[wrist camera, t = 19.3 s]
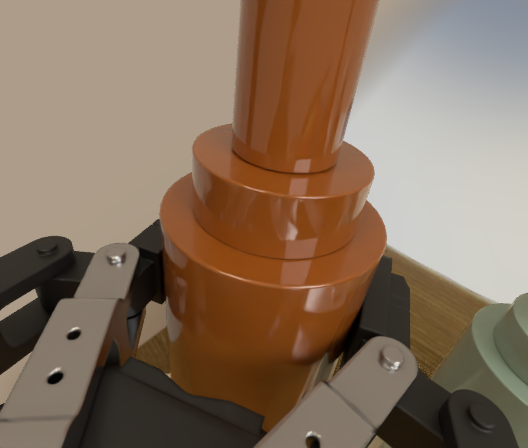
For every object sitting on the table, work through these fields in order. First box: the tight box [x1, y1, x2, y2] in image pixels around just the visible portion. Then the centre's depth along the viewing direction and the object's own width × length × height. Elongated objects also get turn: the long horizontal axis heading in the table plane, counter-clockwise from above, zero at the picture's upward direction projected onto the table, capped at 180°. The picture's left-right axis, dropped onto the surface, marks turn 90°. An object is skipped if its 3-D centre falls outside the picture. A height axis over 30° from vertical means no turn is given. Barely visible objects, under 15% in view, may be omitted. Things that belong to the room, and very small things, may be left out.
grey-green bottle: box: [378, 293, 528, 448], centre depth 15 cm, size 6×6×20 cm
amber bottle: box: [160, 0, 387, 433], centre depth 11 cm, size 6×6×20 cm
